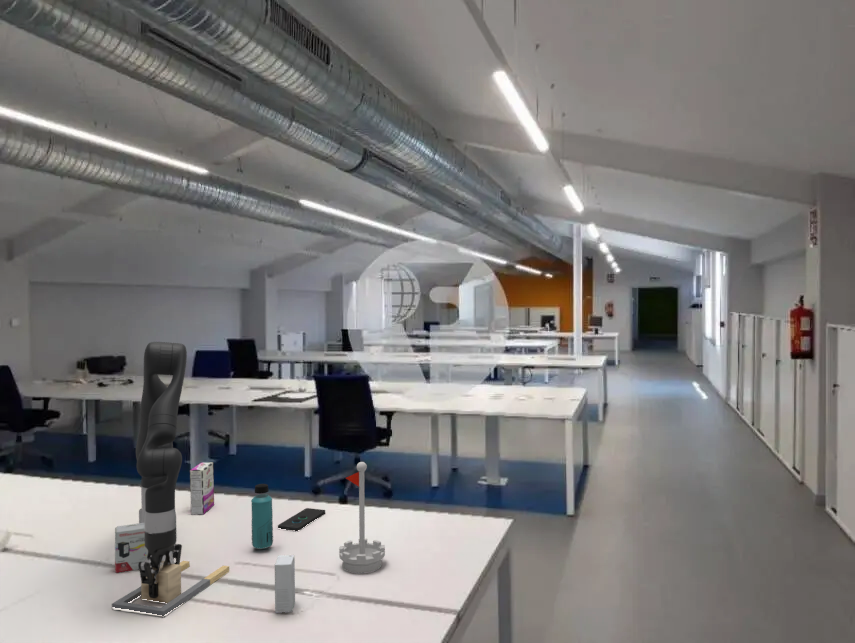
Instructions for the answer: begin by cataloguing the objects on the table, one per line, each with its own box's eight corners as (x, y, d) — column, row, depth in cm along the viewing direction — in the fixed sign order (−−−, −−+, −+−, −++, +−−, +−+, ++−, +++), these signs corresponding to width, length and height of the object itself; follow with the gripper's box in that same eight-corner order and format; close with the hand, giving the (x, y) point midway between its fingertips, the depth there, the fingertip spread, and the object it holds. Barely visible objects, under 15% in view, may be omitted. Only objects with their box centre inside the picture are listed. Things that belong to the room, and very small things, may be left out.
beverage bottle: (267, 554, 190) (267, 488, 190) (247, 552, 192) (246, 487, 191) (277, 546, 197) (276, 482, 196) (257, 544, 198) (256, 481, 198)
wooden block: (141, 600, 161) (141, 569, 160) (155, 591, 165) (154, 561, 165) (168, 604, 158) (167, 572, 158) (181, 595, 163) (180, 564, 163)
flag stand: (391, 559, 186) (391, 458, 186) (373, 577, 174) (373, 469, 173) (351, 554, 191) (351, 455, 190) (331, 571, 178) (330, 465, 178)
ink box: (115, 573, 177) (114, 532, 177) (114, 567, 181) (114, 526, 181) (148, 567, 181) (148, 527, 181) (147, 561, 185) (147, 521, 185)
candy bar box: (201, 505, 238) (200, 462, 238) (214, 505, 238) (214, 462, 238) (189, 515, 227) (189, 469, 226) (203, 515, 227) (203, 469, 226)
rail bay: (111, 609, 156) (111, 603, 156) (183, 565, 182) (183, 560, 182) (163, 617, 152) (163, 611, 152) (229, 571, 178) (229, 566, 178)
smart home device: (276, 525, 212) (306, 507, 231) (276, 530, 212) (306, 512, 231) (298, 527, 210) (326, 509, 229) (298, 533, 210) (326, 514, 229)
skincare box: (278, 601, 160) (277, 554, 159) (295, 601, 160) (295, 554, 160) (274, 613, 154) (274, 564, 153) (292, 612, 154) (291, 564, 154)
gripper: (166, 516, 169) (167, 579, 170) (127, 535, 156) (128, 603, 156) (190, 518, 167) (191, 582, 168) (153, 537, 154) (154, 607, 154)
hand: (161, 592), depth 162 cm, fingers closed on wooden block, 5 cm apart
